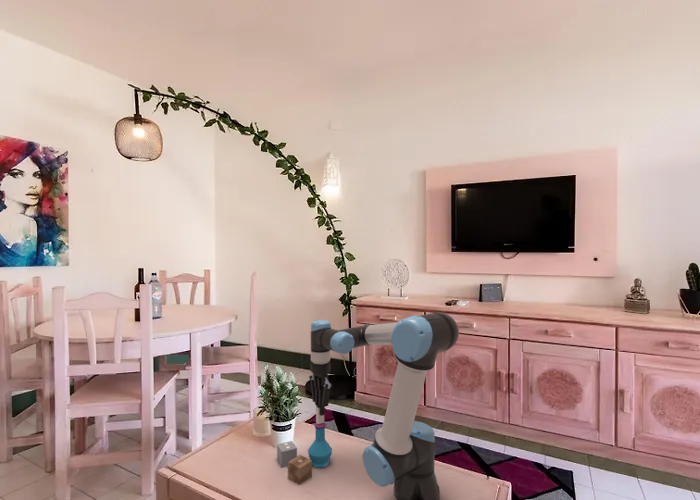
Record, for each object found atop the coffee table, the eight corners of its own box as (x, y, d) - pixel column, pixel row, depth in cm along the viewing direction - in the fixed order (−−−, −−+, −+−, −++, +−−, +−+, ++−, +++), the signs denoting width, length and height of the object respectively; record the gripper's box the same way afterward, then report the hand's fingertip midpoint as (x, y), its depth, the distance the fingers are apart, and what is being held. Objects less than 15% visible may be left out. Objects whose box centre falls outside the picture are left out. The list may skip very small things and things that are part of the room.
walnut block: (311, 477, 135) (311, 460, 135) (299, 485, 131) (299, 467, 130) (300, 471, 139) (300, 454, 139) (287, 478, 134) (288, 461, 134)
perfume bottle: (333, 456, 149) (333, 418, 149) (330, 470, 139) (330, 429, 139) (310, 455, 150) (310, 417, 149) (305, 468, 140) (305, 428, 140)
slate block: (296, 463, 144) (296, 447, 144) (281, 467, 141) (281, 451, 141) (291, 456, 149) (292, 440, 149) (277, 459, 146) (277, 443, 146)
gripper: (338, 363, 141) (337, 426, 142) (319, 355, 152) (319, 414, 152) (321, 367, 137) (321, 432, 137) (303, 358, 147) (303, 419, 147)
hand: (320, 422), depth 144 cm, fingers closed
